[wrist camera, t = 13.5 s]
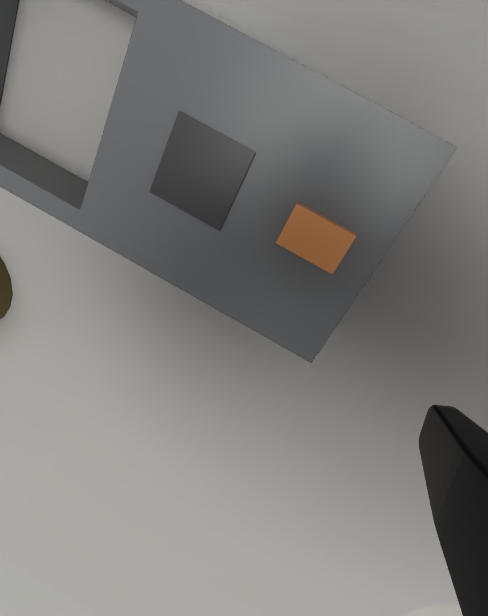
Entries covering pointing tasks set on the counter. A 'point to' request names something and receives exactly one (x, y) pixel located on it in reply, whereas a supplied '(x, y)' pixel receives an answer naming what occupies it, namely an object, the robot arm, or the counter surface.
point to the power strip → (237, 174)
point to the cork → (4, 290)
